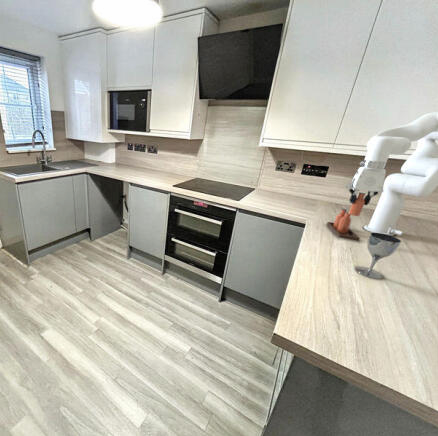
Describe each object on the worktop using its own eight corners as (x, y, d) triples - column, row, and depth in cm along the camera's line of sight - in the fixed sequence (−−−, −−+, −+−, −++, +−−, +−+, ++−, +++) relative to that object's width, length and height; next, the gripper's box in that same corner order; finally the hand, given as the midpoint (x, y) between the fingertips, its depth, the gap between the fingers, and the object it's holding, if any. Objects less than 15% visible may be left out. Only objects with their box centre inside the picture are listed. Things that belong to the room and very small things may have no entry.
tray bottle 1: (344, 228, 128) (351, 210, 125) (339, 229, 127) (346, 210, 123) (335, 225, 132) (342, 207, 128) (330, 226, 130) (337, 208, 126)
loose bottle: (361, 215, 114) (370, 193, 110) (356, 216, 112) (365, 194, 108) (351, 212, 118) (359, 191, 114) (346, 213, 116) (354, 191, 112)
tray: (326, 225, 134) (327, 221, 134) (343, 227, 132) (344, 224, 131) (338, 238, 118) (339, 234, 117) (358, 241, 115) (359, 238, 114)
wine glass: (376, 281, 84) (394, 244, 78) (350, 269, 91) (365, 234, 85) (387, 276, 87) (405, 240, 81) (362, 265, 94) (377, 231, 88)
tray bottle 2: (348, 232, 123) (356, 213, 119) (343, 234, 122) (351, 214, 118) (339, 229, 127) (346, 210, 123) (334, 230, 125) (341, 211, 121)
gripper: (354, 164, 106) (340, 203, 112) (402, 168, 100) (384, 208, 107) (347, 162, 112) (334, 199, 119) (392, 166, 107) (375, 204, 114)
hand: (358, 203), depth 113 cm, fingers closed on loose bottle, 4 cm apart
